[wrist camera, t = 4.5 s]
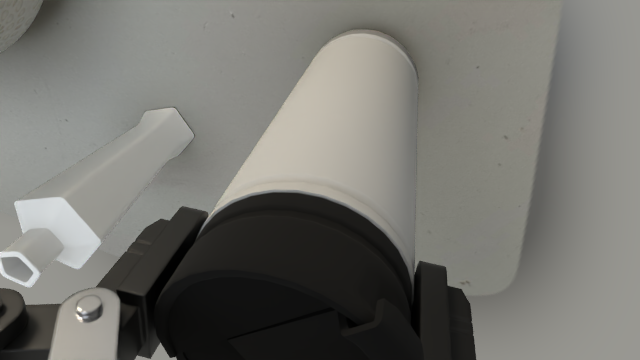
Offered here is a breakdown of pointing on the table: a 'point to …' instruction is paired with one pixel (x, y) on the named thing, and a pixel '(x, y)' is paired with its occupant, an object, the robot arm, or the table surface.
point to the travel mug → (312, 224)
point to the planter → (16, 19)
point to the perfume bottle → (91, 197)
